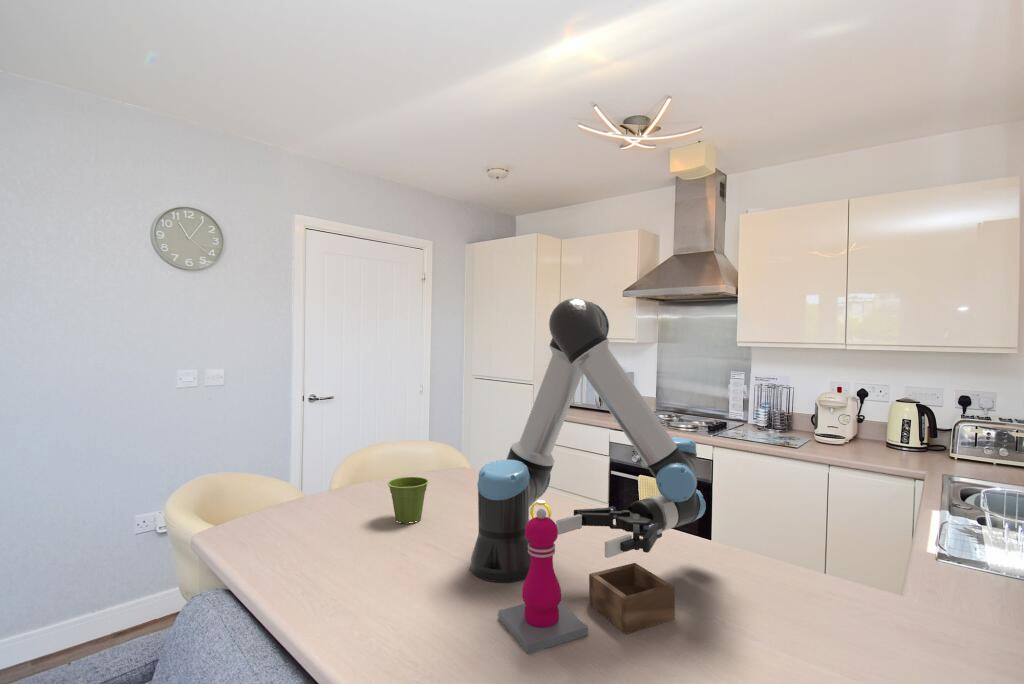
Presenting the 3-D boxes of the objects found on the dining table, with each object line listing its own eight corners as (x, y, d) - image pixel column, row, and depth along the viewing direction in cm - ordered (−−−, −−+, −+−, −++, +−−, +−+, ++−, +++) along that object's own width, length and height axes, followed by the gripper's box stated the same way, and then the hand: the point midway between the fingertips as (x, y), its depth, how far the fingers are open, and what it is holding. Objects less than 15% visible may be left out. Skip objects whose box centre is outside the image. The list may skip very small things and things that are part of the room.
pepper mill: (534, 633, 88) (534, 518, 88) (514, 613, 94) (514, 506, 94) (569, 622, 91) (568, 511, 91) (548, 604, 98) (547, 500, 98)
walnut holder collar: (589, 604, 101) (589, 573, 101) (634, 591, 106) (634, 562, 106) (626, 634, 90) (625, 600, 90) (674, 618, 95) (674, 586, 95)
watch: (551, 522, 147) (553, 502, 146) (548, 525, 144) (549, 504, 144) (532, 517, 149) (533, 497, 149) (528, 521, 147) (530, 500, 146)
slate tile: (498, 618, 96) (498, 610, 96) (553, 603, 101) (553, 596, 101) (527, 653, 85) (527, 644, 85) (587, 635, 90) (587, 626, 90)
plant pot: (437, 517, 150) (437, 479, 150) (408, 530, 140) (408, 489, 140) (408, 510, 156) (407, 474, 156) (378, 522, 146) (378, 483, 146)
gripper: (702, 552, 101) (630, 582, 88) (609, 516, 121) (539, 537, 109) (702, 514, 101) (630, 539, 88) (609, 485, 121) (539, 502, 109)
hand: (580, 538), depth 99 cm, fingers open, 13 cm apart
